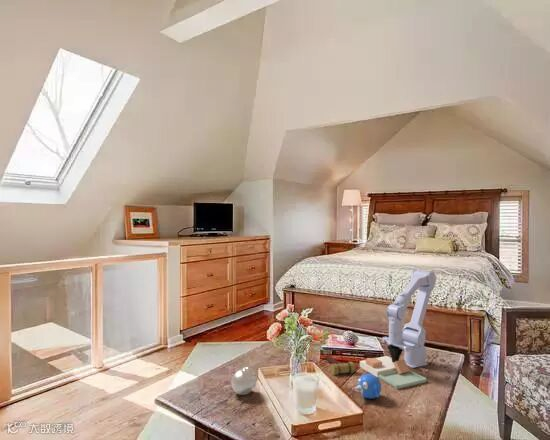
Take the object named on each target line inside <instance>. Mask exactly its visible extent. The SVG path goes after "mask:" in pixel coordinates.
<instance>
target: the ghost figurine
mask: <svg viewBox="0 0 550 440" xmlns="http://www.w3.org/2000/svg"><path fill="white" fill-rule="evenodd" d="M230 382H231V383H230V384H231V388H232V390H233V392H235V393H236V394H237V395H239V396H245V395H247V394H249V393H251V391H252V390H253V389H254V388H255V387H256V385H257V380H256V378H255V372H254V371H253V370H252V369H251V367H248V366H245V367H243V368H242V369H239V370H237V371H236V372H235V373H234V374H233V376H232V378H231V381H230Z"/></svg>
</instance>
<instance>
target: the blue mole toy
mask: <svg viewBox="0 0 550 440" xmlns="http://www.w3.org/2000/svg"><path fill="white" fill-rule="evenodd" d="M351 390H352V391H355V392H356V393H358V394H359V395H361V396H362V397H364V398H366V399H369V400H370V399H376V398H380V396H381V395H380V394H381V391H382V383H381V381H380V379H379V378H378V377H376V376H375V375H373V374H371V373H364V374H362V375H361V376H360V377H359V378H358V379H357V385H356V386H355V387H352V389H351Z"/></svg>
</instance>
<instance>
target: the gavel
mask: <svg viewBox="0 0 550 440" xmlns="http://www.w3.org/2000/svg"><path fill="white" fill-rule="evenodd" d="M324 355H325V357H324V359H325V360H326V361H327V362H328V363H330V365H329V369H330V373H331V375H333V376H338V375H341V374H342V375H343V374H348V373H349V374H354V373H355V371H356V365H355V363H354V362H353V361H347V362H345V363H341V362H339V361H338V360H336V359H335V358H334V357H333V356H331V355H329V354H324Z"/></svg>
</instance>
